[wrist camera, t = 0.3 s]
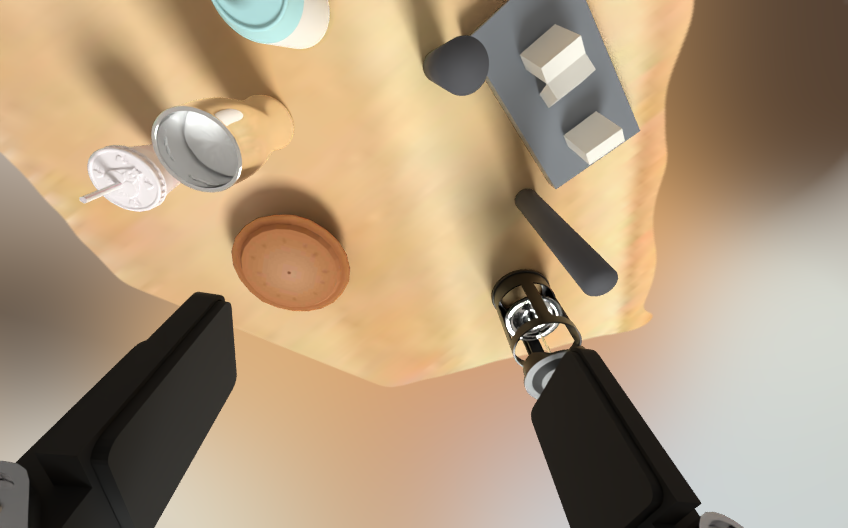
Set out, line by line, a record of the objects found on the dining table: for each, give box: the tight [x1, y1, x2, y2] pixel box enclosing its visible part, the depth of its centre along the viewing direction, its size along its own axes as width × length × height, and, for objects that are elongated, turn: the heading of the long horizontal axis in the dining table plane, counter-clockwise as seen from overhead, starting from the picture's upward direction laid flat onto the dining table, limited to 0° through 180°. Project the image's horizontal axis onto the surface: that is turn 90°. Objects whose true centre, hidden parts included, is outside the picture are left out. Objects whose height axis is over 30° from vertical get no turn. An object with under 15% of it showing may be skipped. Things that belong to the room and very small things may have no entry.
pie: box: [232, 215, 350, 311], centre depth 46 cm, size 16×16×5 cm
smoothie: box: [79, 144, 181, 211], centre depth 34 cm, size 6×6×14 cm
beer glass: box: [151, 94, 294, 192], centre depth 32 cm, size 7×7×15 cm
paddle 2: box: [564, 111, 625, 165], centre depth 36 cm, size 2×4×4 cm, turn 129°
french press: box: [492, 269, 585, 399], centre depth 43 cm, size 12×9×23 cm
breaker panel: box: [470, 0, 640, 189], centre depth 37 cm, size 20×11×2 cm, turn 39°
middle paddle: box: [540, 53, 596, 108], centre depth 33 cm, size 2×4×4 cm, turn 129°
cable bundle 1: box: [423, 35, 489, 96], centre depth 27 cm, size 3×3×20 cm
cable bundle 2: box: [515, 189, 618, 296], centre depth 36 cm, size 3×3×20 cm
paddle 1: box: [520, 24, 585, 84], centre depth 32 cm, size 2×4×4 cm, turn 129°
